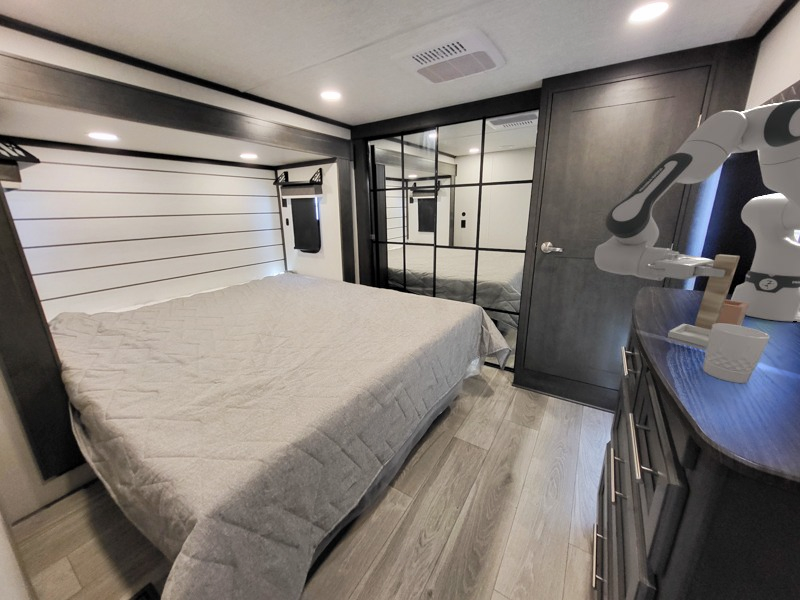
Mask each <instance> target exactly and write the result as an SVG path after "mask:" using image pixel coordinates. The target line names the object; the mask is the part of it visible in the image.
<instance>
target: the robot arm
mask: <svg viewBox="0 0 800 600" xmlns="http://www.w3.org/2000/svg"><path fill="white" fill-rule="evenodd" d="M754 151H757V155H758V156H757V157H758V163H759V168H760V172H761V173H760V174H761V178H762V183H763V184H764V186H765V187H766V188H768V189H769V190H771V191H774V192H777V193H771V194H767V195H766V194H765V195H762V196H757V197H754V198H751V199H750V200H749V201H748V202H747V203H746V204H745V205H744V206H743V208H742V210H741V212H740V218H741V220H742V222H743V224H745V226H747V227H748V228H749V229H750V230H751V231H752V233H753V235H754V239H755V243H756V245H755V246H756V248H755V252H754V257H753V259H752V264H751V266H750V270H748V271H747V273H746V274H745V279H744V282H743V283H741V284H738V285H736V287H734V291H733V293H732V296H731V299H730V300H732V301H738V302H744V303H749V306H748V309H747V311H746V314H745V316H748V317H753V318H756V319H757V318H758V319H764V320H772V321H780V322H793V321H797V322H796V323H800V289H799V288H800V242H799V241H798V240H797V239H796V237H795V231H800V99H792V100H791V99H790V100H786V101H784V102H779V103H773V104H772V103H771V104H766V105H760V106H756V107H754V108H750V109H748V110H744V111H736V110H722V111H718V112H715V113H714V114H712V115H710V116H709V117H708V118H706V119H705V120H704V121H703V122H702V123H701V124H700V125H699V126H698V127H697V128H696V129H695V130H694V131H693V132H692V133H691V134H690V135H689V136H688V137H687V138H686V139H685V141H684V142H683V143H682V145H680V147H679V148H678V149H677V150H676V152H674V153H673V154H671V155H669V156H667V157H666V158H665V159H664V160H662V161H661V162H660V163H659V164H658V165H657V166H656V167H655V168H654V169H653V170H652V171H651V172H650V174H648V175H647V176H646V177H645V178H644V180H643V181H642V182H641V183H640V184H639V185H638V186H636V188H635V189H634V190H633V191H632V192H631V193H630V194H629V195H627V197H625V198H624V199H623V200H621V201H620V202H618V203H617V204H616V205H614V206H613V208H611V209H610V211H609V212H608V214H607V215H606V218H605V226H606V229H607V230H609V232H610V233H611V234H612V236H611V237H610V238H609V239H608V240H607V241H605V242H603V243H602V244H601V243H600V244H598V246H597V247H595V250H594V254H593V259H594V260H593V261H594V264H595V265H596V267H597V268H598V269H599V270H601V271H603V272H604V271H605V272H608V273H611V274H616V275H622V276H627V275H628V276H629V275H631V276H635V277H637V278H641V279H648V280H652V281H661V282H662V281H663V280H664V279H665V278H672V279H676V280H689V279H694V278H697V277H710V276H715V277H724V276H725V275H726V270H725V269H715V268H712V267H713V264H714V261H715V259H711V258H706V257H702V256H701V257H700V256H694V255H690V254H682V253H680V252H679V251H675V250H673V249H671V248H667V247H654V246H655V245H656V244H657V241H658V240H659V237H660V230H659V227H658V225H657V223H656V221H655V219H654V217H653V208H654V205H655V204H656V203H657V202H658V201H659V200H660V199H661V197H662V196H663V195H664V194H665V193H667V192H668V190H670V188H671V187H672V186H673V185H674V184H676V183H679V184H684V185H693V184H697V183H701V182H703V181H706V180H707V179H709V178H710V177H711V176H712V175H713V174H715V173H716V172H717V171H718V170H719V168H720V167H721V166H722V165H723V164H724V162H726V161H727V159H728V158H729V157H730V156H731V154H738V153H742V154H743V153H751V152H754Z"/></svg>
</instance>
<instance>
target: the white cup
mask: <svg viewBox="0 0 800 600" xmlns="http://www.w3.org/2000/svg"><path fill="white" fill-rule="evenodd" d="M770 337H771V335H770V334H769V333H767V332H764V331H761V330H758V329H755V328H752V327H747V326H744V325H742V326H739V325H733V324H723V323H717V324H713V325H712V329H711V333H710V336H709V340H708V344H707V347H706V348H707V349H706V351H705V353H704V354H705V355H704V360H703V364H702V366H701V367H702V371H703V372H704V373H706V374H707V375H709V376H712V377H713V378H716V379H720V380H722V381H725V382H730V383H736V384H745V383H747V382H749V381H750V379H751V376H752V374H753V371H755V369H756V367H757V365H758V363H759V361H760V360H761V358H762V356H763V353H764V351H765V348H766V346H767V345H768V342H769V340H770V339H771V338H770Z"/></svg>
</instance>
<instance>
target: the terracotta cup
mask: <svg viewBox="0 0 800 600" xmlns="http://www.w3.org/2000/svg"><path fill="white" fill-rule="evenodd" d="M748 306H749V303H744V302H738V301H732V300H731V299H727V298H726V300H725V303H724V306H723V309H722V312H721V315H720V318H719V321H718V323H723V324H733V325H739V326H743V322H744V320H745V318H746V317H745V316H746V315H745V314H746V311H747V309H748ZM695 326H696V327H700V328H705V327H701V326H697V325H695ZM705 329H709V328H705ZM709 330H711V329H709Z"/></svg>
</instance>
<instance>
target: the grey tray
mask: <svg viewBox="0 0 800 600" xmlns="http://www.w3.org/2000/svg"><path fill="white" fill-rule="evenodd" d="M696 326H697V325H691V324H688V323H687V324H686V323H682V324H680V325H678V326H675V328H672V329H670V330H668V334H667V336H666V341H670V342H673V343H677V344H681V345H684V346H686V347H687V346H688V347H690V348H694V349H697V350H698V349H699V350H702V351H705V352H706V349H707V344H708V340H709V336H710V333H711V330H709V329H705V328H700V327H696Z"/></svg>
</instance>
